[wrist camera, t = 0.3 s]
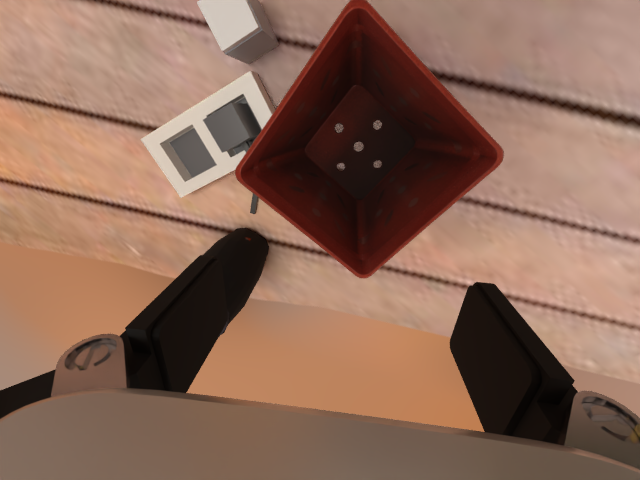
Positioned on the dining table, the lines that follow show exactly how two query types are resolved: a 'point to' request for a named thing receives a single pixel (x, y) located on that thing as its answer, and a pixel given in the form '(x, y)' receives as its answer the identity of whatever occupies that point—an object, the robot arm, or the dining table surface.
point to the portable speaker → (239, 266)
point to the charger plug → (239, 27)
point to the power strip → (211, 135)
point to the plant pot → (366, 145)
